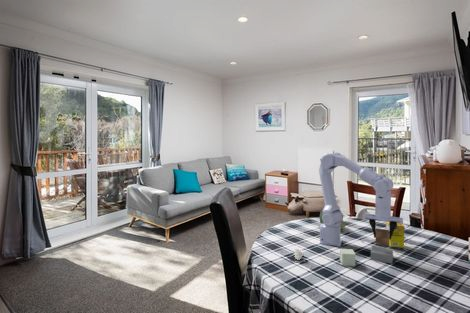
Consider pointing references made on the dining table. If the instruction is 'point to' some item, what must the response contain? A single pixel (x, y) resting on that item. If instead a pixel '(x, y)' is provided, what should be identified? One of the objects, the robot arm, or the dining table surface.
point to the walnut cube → (382, 236)
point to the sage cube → (347, 257)
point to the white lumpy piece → (298, 254)
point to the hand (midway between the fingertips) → (382, 237)
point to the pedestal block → (382, 254)
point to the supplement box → (397, 237)
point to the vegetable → (323, 223)
